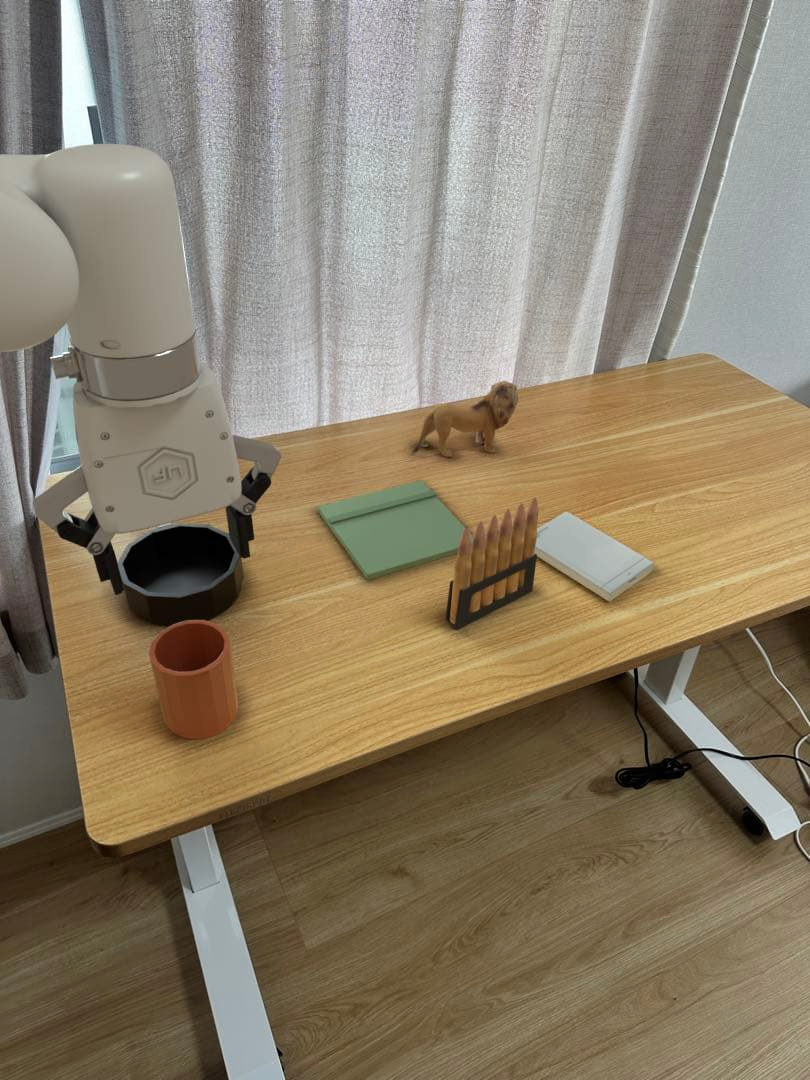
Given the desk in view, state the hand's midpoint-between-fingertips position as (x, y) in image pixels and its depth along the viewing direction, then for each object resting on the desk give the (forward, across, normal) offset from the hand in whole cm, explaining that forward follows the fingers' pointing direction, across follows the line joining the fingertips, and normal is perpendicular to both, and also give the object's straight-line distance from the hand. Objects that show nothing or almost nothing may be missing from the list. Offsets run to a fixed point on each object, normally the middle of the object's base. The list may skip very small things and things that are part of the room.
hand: (179, 565), depth 62 cm
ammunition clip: (+17, +30, +1) cm, 35 cm away
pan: (+17, +2, +21) cm, 27 cm away
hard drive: (+18, +44, +3) cm, 48 cm away
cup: (+17, -1, 0) cm, 17 cm away
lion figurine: (+18, +44, +30) cm, 56 cm away
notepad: (+17, +27, +17) cm, 36 cm away
